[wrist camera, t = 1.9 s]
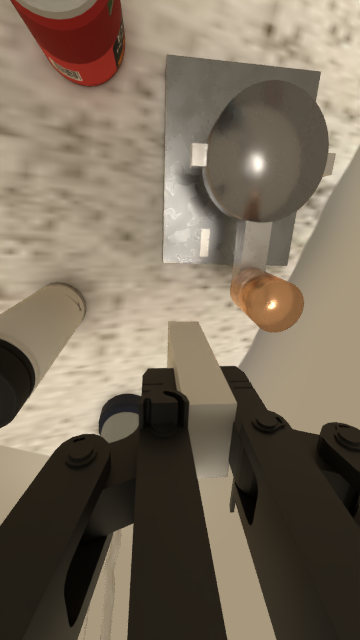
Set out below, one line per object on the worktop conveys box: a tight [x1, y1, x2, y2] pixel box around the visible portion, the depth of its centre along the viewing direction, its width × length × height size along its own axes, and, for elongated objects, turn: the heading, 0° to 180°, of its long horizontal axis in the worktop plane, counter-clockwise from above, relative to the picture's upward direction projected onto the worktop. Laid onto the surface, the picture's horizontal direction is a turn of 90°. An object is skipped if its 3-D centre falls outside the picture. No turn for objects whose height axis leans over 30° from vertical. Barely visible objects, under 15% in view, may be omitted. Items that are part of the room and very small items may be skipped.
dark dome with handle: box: [190, 80, 336, 332], centre depth 22 cm, size 18×12×9 cm
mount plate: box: [163, 55, 321, 266], centre depth 28 cm, size 20×16×8 cm
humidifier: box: [83, 394, 141, 640], centre depth 30 cm, size 8×8×25 cm
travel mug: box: [0, 283, 86, 428], centre depth 26 cm, size 6×7×20 cm
